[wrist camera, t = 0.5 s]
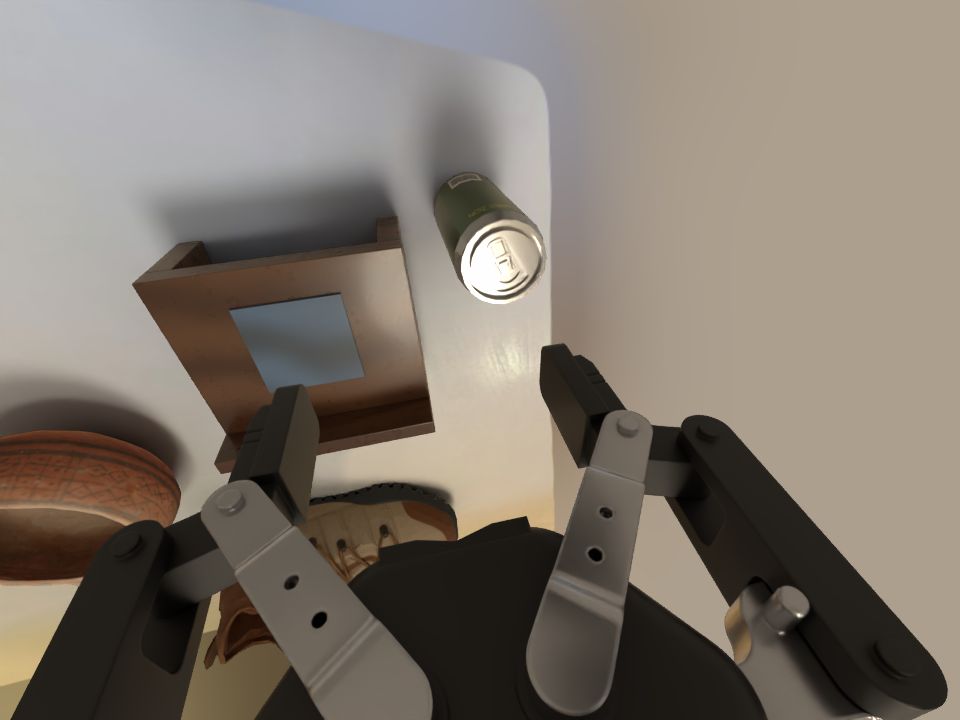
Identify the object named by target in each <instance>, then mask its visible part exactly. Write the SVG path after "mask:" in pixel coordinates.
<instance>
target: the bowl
mask: <svg viewBox="0 0 960 720" xmlns="http://www.w3.org/2000/svg"><path fill="white" fill-rule="evenodd" d="M180 499H181V491H180V488H179V485H178V483H177V481H176V479H175V477H174V475H173V473H172V472H171V470H170V469H169V468H168V467H167V466H166V464H164V463H163V462H162V461H161V460H160V459H159V458H157V457H156V456H155V455H153V454H152V453H151V452H148V451H147V450H145V449H143V448H140V447H138V446H135V445H133V444H131V443H128V442H125V441H121V440H118V439H115V438H112V437H108V436H105V435H102V434H98V433H92V432H84V431H63V430H39V431H30V432H25V433H20V434H15V435H10V436H5V437H1V438H0V585H4V586H42V585H58V584H69V585H77V586H78V587H79V585H80V583H81V581H82V579H83V577H84V575H85V573H86V571H87V569H88V567H89V566H90V564H91V562H92V560H93V558H94V556H95V554H96V552H97V551H98V549H99V548H100V547H101V545H102V544H103V543H104V542H105V541H106V540H107V539H108V538H109V537H110V536H112V535H113V534H114V533H116V532H117V531H119V530H120V529H122V528H123V527H125V526H127V525H129V524H132V523H134V522H138V521H141V520H155V521H158V522H159V523H160V524H161V525H162V526H163V527H164V528H165V527H167V526H170V525H172V523H173V521H174V520H175V517H176V514H177V512H178V509H179V505H180Z"/></svg>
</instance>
